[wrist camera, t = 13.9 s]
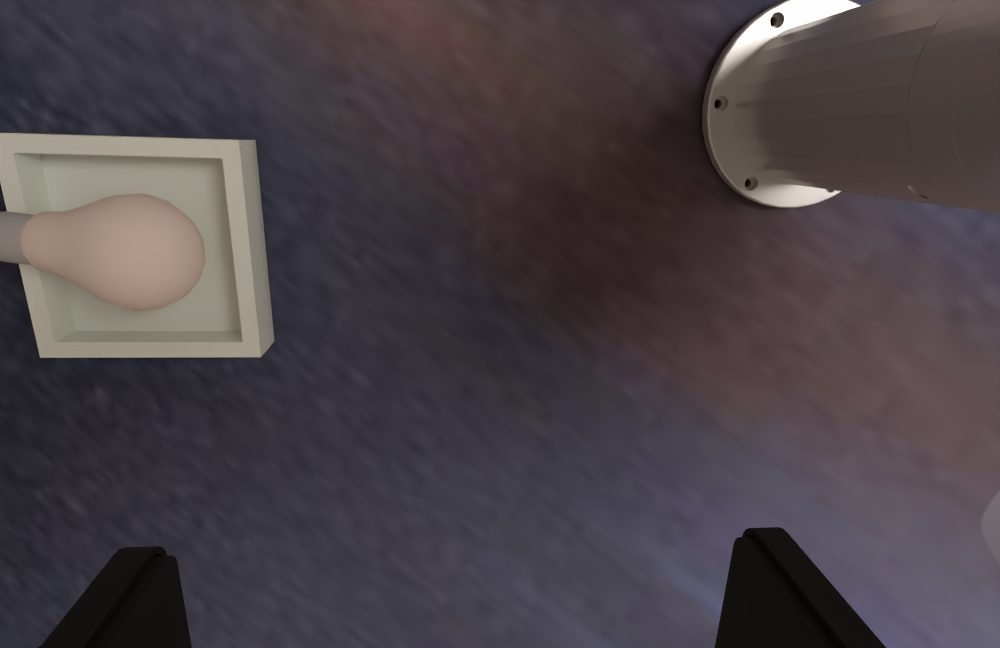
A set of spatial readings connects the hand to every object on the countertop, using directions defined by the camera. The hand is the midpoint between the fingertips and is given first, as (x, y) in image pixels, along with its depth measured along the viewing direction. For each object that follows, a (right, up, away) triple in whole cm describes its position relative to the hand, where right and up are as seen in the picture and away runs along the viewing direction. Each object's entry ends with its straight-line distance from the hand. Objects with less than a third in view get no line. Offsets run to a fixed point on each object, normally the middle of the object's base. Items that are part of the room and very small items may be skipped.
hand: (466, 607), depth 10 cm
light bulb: (-23, +10, +25) cm, 35 cm away
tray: (-21, +10, +27) cm, 36 cm away
